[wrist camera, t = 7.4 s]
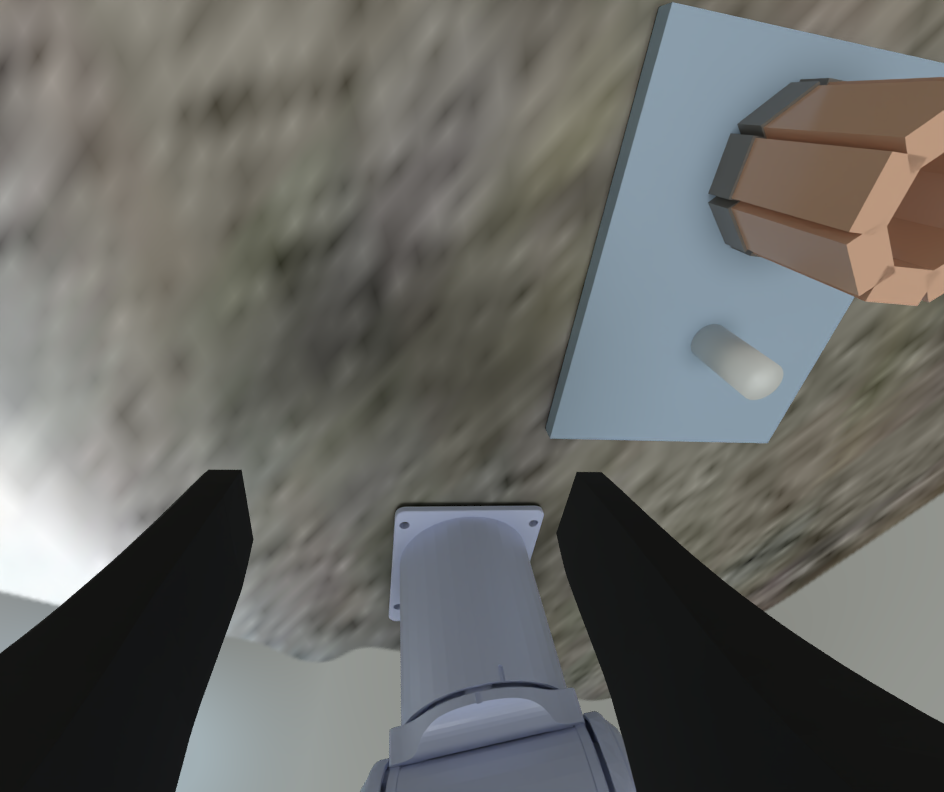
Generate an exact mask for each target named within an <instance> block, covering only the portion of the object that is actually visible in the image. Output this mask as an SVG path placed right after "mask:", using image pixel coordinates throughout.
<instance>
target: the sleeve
mask: <svg viewBox="0 0 944 792" xmlns="http://www.w3.org/2000/svg"><path fill="white" fill-rule="evenodd" d="M737 125H738V128H739V131H740V134H733V133H730V136H729V139H728V141H727V144H726V147H725V149H724V152H723V155H722V157H721V160H720V163H719V166H718V168H717V171H716V174H715V176H714V179H713V182H712V185H711V187H710V190H709V193H708V194H711V195H715V196H716V197H715V198H713V199H712V200H711V201H709V202H708V204H709V206H710V209H711V211H712V213H713V216H714V218H715V221H716V223H717V226H718V228H719V230H720V233H721V235H722V238H723V240H724V242H725V244H727V245H730V246H731V248H733V249H735V250H737V251H740V252H742V253H744V254H747V255H749V256H755V257H762V258H765V259H767V260H769V261H772V262H774V263H776V264H779V265H781V266H783V267H786V268H788V269H790V270H793V271H795V272H798V273H800V274H802V275H805V276H807V277H809V278H812V279H814V280H816V281H819V282H821V283H823V284H826V285H828V286H830V287H833V288H835V289H838V290H840V291H842V292H845V293H847V294H849V295H852V296H854V297H856V298H859V299H861V300H863V301H867V302H879V303H890V304H902V305H913V306H918V304H919V303H920V301H921V300H923V301H926V302H930V301H932V300H933V299H935V298H937V297H938V296H940V295H942V294H943V293H944V77H930V78H908V79H886V80H863V81H843V80H838V79H833V78H817V79H800V81H799V82H791V83H789V84H788V85H787V86H786V87H784V88H783V89H782V90H780V91H779V92H778V93H777V94H775V95H774V96H773V97H771V98H770V99H769V100H768V101H766V102H765V103H764V104H762V105H761V106H760V107H758V108H757V109H756V110H755V111H753V112H752V113H751V114H749V115H748V116H747V117H746V118H744V119H743V120H742V121H740V122H739V123H738V124H737Z"/></svg>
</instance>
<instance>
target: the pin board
mask: <svg viewBox="0 0 944 792" xmlns="http://www.w3.org/2000/svg"><path fill="white" fill-rule="evenodd" d="M930 77H944V63H941V62H936V61H932V60H927V59H923V58H918V57H914V56H909V55H905V54H901V53H896V52H892V51H887V50H883V49H878V48H874V47H869V46H865V45H860V44H856V43H852V42H847V41H843V40H838V39H834V38H829V37H825V36H820V35H816V34H812V33H807V32H803V31H798V30H794V29H789V28H785V27H780V26H776V25H771V24H767V23H763V22H758V21H754V20H749V19H745V18H740V17H736V16H731V15H727V14H723V13H718V12H714V11H709V10H705V9H700V8H696V7H691V6H687V5H682V4H678V3H674V2H672V3H669V4H666V5H663V6H660V7H659V9H658V13H657V17H656V20H655V24H654V28H653V31H652V35H651V39H650V43H649V46H648V50H647V54H646V57H645V61H644V65H643V69H642V72H641V76H640V80H639V83H638V87H637V91H636V95H635V98H634V102H633V106H632V109H631V113H630V117H629V121H628V124H627V128H626V132H625V135H624V139H623V143H622V146H621V150H620V154H619V158H618V161H617V165H616V169H615V172H614V176H613V180H612V184H611V187H610V191H609V195H608V198H607V202H606V206H605V210H604V213H603V217H602V221H601V224H600V228H599V232H598V236H597V239H596V243H595V247H594V250H593V254H592V258H591V261H590V265H589V269H588V273H587V276H586V280H585V284H584V287H583V291H582V295H581V299H580V302H579V306H578V310H577V313H576V317H575V321H574V325H573V328H572V332H571V336H570V339H569V343H568V347H567V351H566V354H565V358H564V362H563V365H562V369H561V373H560V376H559V380H558V384H557V388H556V391H555V395H554V399H553V402H552V406H551V410H550V414H549V417H548V421H547V425H546V431H547V433H548V435H549V437H550V438H551V439H597V440H644V441H691V442H738V443H768V441H769V440H770V438H771V436H772V435H773V433H774V431H775V430H776V428H777V426H778V425H779V423H780V421H781V420H782V418H783V416H784V415H785V413H786V411H787V410H788V408H789V406H790V404H791V403H792V401H793V399H794V398H795V396H796V394H797V393H798V391H799V389H800V388H801V386H802V384H803V383H804V381H805V379H806V378H807V376H808V374H809V373H810V371H811V369H812V368H813V366H814V364H815V363H816V361H817V359H818V357H819V356H820V354H821V352H822V351H823V349H824V347H825V346H826V344H827V342H828V341H829V339H830V337H831V336H832V334H833V332H834V331H835V329H836V327H837V326H838V324H839V322H840V321H841V319H842V317H843V316H844V314H845V312H846V310H847V309H848V307H849V305H850V304H851V302H852V300H853V299H854V296H852V295H849V294H847V293H845V292H842V291H840V290H838V289H835V288H833V287H830V286H828V285H826V284H823V283H821V282H819V281H816V280H814V279H812V278H809V277H807V276H805V275H802V274H800V273H798V272H795V271H793V270H790V269H788V268H786V267H783V266H781V265H779V264H776V263H774V262H772V261H769V260H767V259H765V258H762V257H755V256H749V255H747V254H744V253H742V252H740V251H737V250H735V249H733V248H731V246H730V245H727V244H725V242H724V240H723V238H722V235H721V233H720V230H719V228H718V226H717V223H716V221H715V218H714V216H713V213H712V211H711V209H710V206H709V204H708V202H709V201H711V200H712V199H713V198H715V197H716V196H715V195H711V194H708V193H709V190H710V187H711V185H712V182H713V179H714V176H715V174H716V171H717V168H718V166H719V163H720V160H721V157H722V155H723V152H724V149H725V147H726V144H727V141H728V139H729V136H730V133H733V134H740V131H739V128H738V125H737V124H738V123H739V122H740V121H742V120H743V119H744V118H746V117H747V116H748V115H749V114H751V113H752V112H753V111H755V110H756V109H757V108H758V107H760V106H761V105H762V104H764V103H765V102H766V101H768V100H769V99H770V98H771V97H773V96H774V95H775V94H777V93H778V92H779V91H780V90H782V89H783V88H784V87H786V86H787V85H788V84H789V83H791V82H799V81H800V79H817V78H833V79H838V80H843V81H863V80H886V79H908V78H930Z"/></svg>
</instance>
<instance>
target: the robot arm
mask: <svg viewBox="0 0 944 792" xmlns="http://www.w3.org/2000/svg"><path fill="white" fill-rule="evenodd" d="M543 517H544V513H543V510H542V508H541V507H539V506H426V507H401V508H399V509H398V510H397V511H396V513H395V523H394V539H393V554H392V570H391V585H390V601H389V618H390V619H391V620H393V621H400V644H401V726H398V727H394V728H392V729H390V734H389V736H390V737H389V743H390V744H389V758H388V759H383V760H380V761H378V762H377V763H376V764H375V765H374V766H373V768H372V769H371V771H370V773H369V776H368V778H367V780H366V782H365V783H364V785H363V787H362V788H361V791H360V792H944V724H943V723H942V722H940V721H938V720H936V719H934V718H932V717H930V716H929V715H927V714H925V713H923V712H921V711H920V710H918V709H916V708H914V707H913V706H911V705H909V704H908V703H906V702H904V701H902V700H901V699H899V698H897V697H896V696H894V695H892V694H890V693H889V692H887V691H885V690H884V689H882V688H880V687H878V686H876V685H875V684H873V683H872V682H870V681H868V680H867V679H865V678H863V677H862V676H860V675H858V674H857V673H855V672H853V671H852V670H850V669H849V668H847V667H845V666H844V665H842V664H841V663H839V662H837V661H836V660H834V659H833V658H831V657H830V656H828V655H827V654H825V653H824V652H822V651H821V650H819V649H818V648H816V647H815V646H813V645H812V644H810V643H808V642H807V641H805V640H804V639H802V638H801V637H799V636H798V635H796V634H795V633H793V632H792V631H790V630H789V629H788V628H786V627H785V626H783V625H782V624H780V623H779V622H778V621H776V620H775V619H773V618H772V617H771V616H769V615H768V614H767V613H765V612H764V611H763V610H761V609H760V608H758V607H757V606H756V605H754V604H753V603H752V602H750V601H749V600H748V599H746V598H745V597H744V596H742V595H741V594H740V593H738V592H737V591H736V590H734V589H733V588H732V587H731V586H729V585H728V584H727V583H726V582H724V581H723V580H722V579H721V578H719V577H718V576H717V575H716V574H715V573H713V572H712V571H711V570H710V569H709V568H707V567H706V566H705V565H704V564H702V563H701V562H700V561H699V560H698V559H696V558H695V557H694V556H693V555H692V554H691V553H690V552H688V551H687V550H686V549H685V548H684V547H683V546H681V545H680V544H679V543H678V542H677V541H676V540H675V539H674V538H672V537H671V536H670V535H669V534H668V533H667V532H666V531H665V530H664V529H663V528H661V527H660V526H659V525H658V524H657V523H656V522H655V521H654V520H653V519H652V518H651V517H649V516H648V515H647V514H646V513H645V512H644V511H643V510H642V509H641V508H640V507H639V506H638V505H637V504H636V503H634V502H633V501H632V500H631V499H630V498H629V497H628V496H627V495H626V494H625V493H624V492H623V491H622V490H621V489H620V488H618V487H617V486H616V485H615V484H614V483H613V482H612V481H611V480H610V479H609V478H607V477H606V476H605V475H604V474H603V473H602V472H577V473H576V476H575V479H574V482H573V485H572V488H571V491H570V494H569V497H568V500H567V503H566V506H565V509H564V512H563V515H562V518H561V521H560V524H559V527H558V530H557V533H556V534H557V538H558V543H559V547H560V552H561V556H562V560H563V564H564V568H565V572H566V575H567V578H568V581H569V584H570V587H571V589H572V592H573V595H574V597H575V600H576V603H577V606H578V608H579V611H580V613H581V616H582V619H583V621H584V624H585V627H586V629H587V632H588V635H589V637H590V640H591V642H592V645H593V648H594V650H595V653H596V656H597V658H598V661H599V664H600V666H601V669H602V671H603V674H604V677H605V680H606V683H607V686H608V689H609V692H610V695H611V698H612V702H613V705H614V709H615V713H616V716H617V720H618V724H619V727H620V730H621V734H622V736H621V734H620V732H619V731H618V729H617V728H616V727H614V726H613V725H612V724H610V723H609V722H608V721H607V720H605V719H604V718H603V716H602V715H601V714H599V713H598V712H596V711H592V712H588V713H584V714H583V715H582V712H581V708H580V705H579V702H578V698H577V695H576V692H575V689H574V688H567V686H566V683H565V680H564V676H563V673H562V669H561V666H560V663H559V659H558V656H557V652H556V649H555V646H554V642H553V639H552V635H551V632H550V628H549V625H548V622H547V618H546V615H545V611H544V608H543V605H542V601H541V598H540V594H539V591H538V588H537V584H536V581H535V577H534V574H533V571H532V567H531V564H530V560H531V556H532V553H533V550H534V547H535V543H536V540H537V537H538V533H539V530H540V527H541V524H542V520H543ZM532 520H534V521H532ZM402 522H407V523H402ZM252 543H253V535H252V529H251V523H250V517H249V511H248V505H247V499H246V493H245V488H244V482H243V476H242V470H208V471H207V472H205V473H204V474H203V475H202V476H201V477H200V478H199V479H198V480H197V481H196V482H195V483H194V484H193V485H192V486H191V487H190V488H189V489H188V490H187V491H186V492H185V493H184V494H183V495H182V496H181V497H179V498H178V499H177V500H176V501H175V502H174V503H173V504H172V505H171V506H170V507H169V508H168V509H167V510H166V511H165V512H164V513H163V514H162V515H161V516H160V517H159V518H158V519H157V520H156V521H155V522H154V523H153V524H152V525H151V526H150V527H149V528H147V529H146V530H145V531H144V532H143V533H142V534H141V535H140V536H139V537H138V538H137V539H136V540H135V541H134V542H132V543H131V544H130V545H129V546H128V547H127V548H126V549H125V550H124V551H123V552H122V553H121V554H120V555H118V556H117V557H116V558H115V559H114V560H113V561H112V562H111V563H110V564H108V565H107V566H106V567H105V568H104V569H103V570H102V571H100V572H99V573H98V574H97V575H96V576H95V577H93V578H92V579H91V580H90V581H89V582H88V583H86V584H85V585H84V586H83V587H82V588H81V589H79V590H78V591H77V592H76V593H75V594H74V595H72V596H71V597H70V598H69V599H68V600H67V601H66V602H64V603H63V604H62V605H61V606H60V607H58V608H57V609H56V610H55V611H53V612H52V613H51V614H50V615H49V616H47V617H46V618H45V619H44V620H42V621H41V622H40V623H39V624H38V625H36V626H35V627H34V628H32V629H31V630H30V631H29V632H27V633H26V634H25V635H24V636H22V637H21V638H20V639H18V640H17V641H16V642H15V643H13V644H12V645H11V646H9V647H8V648H7V649H5V650H4V651H3V652H1V653H0V792H175V791H176V787H177V783H178V780H179V776H180V772H181V768H182V765H183V761H184V757H185V753H186V750H187V746H188V742H189V738H190V735H191V731H192V728H193V725H194V722H195V719H196V716H197V713H198V710H199V707H200V704H201V701H202V698H203V695H204V692H205V690H206V687H207V684H208V682H209V679H210V676H211V673H212V671H213V668H214V665H215V662H216V660H217V657H218V654H219V651H220V648H221V645H222V643H223V640H224V638H225V635H226V632H227V629H228V626H229V624H230V621H231V618H232V615H233V612H234V610H235V607H236V604H237V601H238V598H239V595H240V593H241V590H242V586H243V582H244V578H245V574H246V570H247V566H248V561H249V557H250V552H251V548H252Z"/></svg>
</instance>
